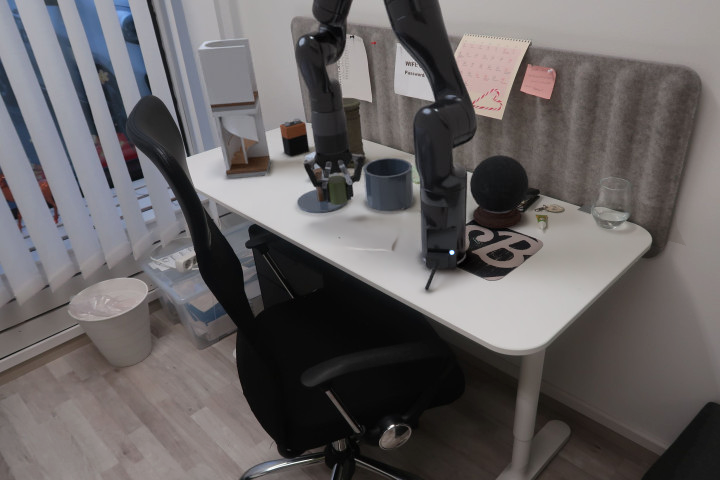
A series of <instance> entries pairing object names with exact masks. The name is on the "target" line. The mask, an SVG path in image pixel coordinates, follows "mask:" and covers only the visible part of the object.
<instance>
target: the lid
mask: <svg viewBox="0 0 720 480" xmlns="http://www.w3.org/2000/svg"><path fill="white" fill-rule="evenodd" d="M313 171H314V173H315V175H316V177H317V179H318V180H321V177H322V169H321V168H317V169H314V170H313ZM296 203H297V207H298V208H299V209H300V210H301V211H304V212H306V213H310V214H311V213H312V214H324V213H331V212H335V211H338V210H339V209H341V208H343V207H344V206H345V205H347V204H348V201H347V202H346V203H344V204H341V205H333V204H331V203H330V202H329V203H327V201H324V199H323V195H322V189H321V188H320V187H315V189H313V190H310V191H308V192H304V193H303V194H302V195H301V196H299V197H298V198H297V201H296Z"/></svg>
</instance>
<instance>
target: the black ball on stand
mask: <svg viewBox="0 0 720 480" xmlns="http://www.w3.org/2000/svg"><path fill="white" fill-rule="evenodd" d="M469 186H470V193H471V196H472V198H473V200H474V202H475V203H476V205H478V206H477V207H476V209H474V211H473V214H472V215H473V220H474V221H475V222H476V223H477V224H478V225H480V226H482V227H485V228H487V229H488V228H489V229H496V230H497V229H499V230H500V229H509V228H512V227H516V226H517V225H519V223H521V221H522V212H521V211H520V209H519V208H518V207H519V206H520V205H522V202H523V201H524V200H525V198H526V196H527V194H528V191H529V190H528V189H529V178H528V173H527V171H526V170H525V168H524V166H523V165H522V164H521V163H520V162H519V161H518V160H516V159H515V158H513V157H512V156H511V157H510V156H508V155H502V154H499V155H492V156H490V157H487V158H485V159H483V160H482V161H481V162H479V164H477V166H476V167H475V168H474V170H473V172H472V175H471V177H470V180H469Z"/></svg>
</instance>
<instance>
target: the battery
mask: <svg viewBox="0 0 720 480" xmlns="http://www.w3.org/2000/svg"><path fill="white" fill-rule="evenodd" d="M279 128H280V129H279V130H280V134H281V135H280V136H281V140H282V146H283V153H284V154H286V155H288V156H289V157H294V156H297V155H298V156H299V155H301V154H305V153H307V152H309V151H310V144H309V138H308V131H307V125H306V122H304V121H301V118H294V119H293V120H292V121H285V122H284V123H283V124H280V125H279Z"/></svg>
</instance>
